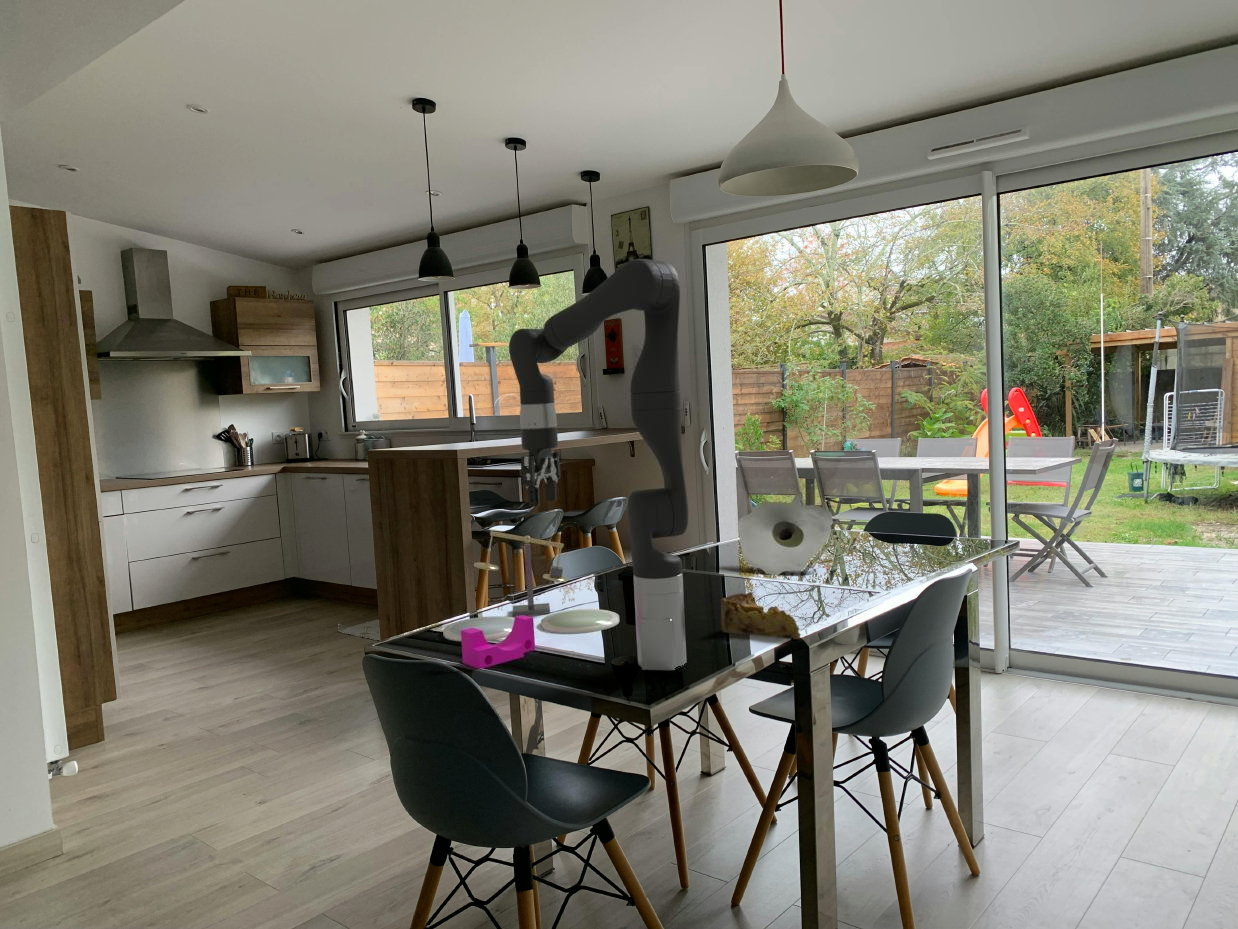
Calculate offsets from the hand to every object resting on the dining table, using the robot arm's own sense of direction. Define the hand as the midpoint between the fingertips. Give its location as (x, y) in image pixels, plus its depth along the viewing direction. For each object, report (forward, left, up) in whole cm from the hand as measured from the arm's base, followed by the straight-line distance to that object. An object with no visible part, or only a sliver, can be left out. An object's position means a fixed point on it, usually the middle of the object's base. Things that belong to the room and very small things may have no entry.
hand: (543, 503), depth 183 cm
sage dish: (+17, -2, -30) cm, 35 cm away
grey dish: (+10, +19, -30) cm, 37 cm away
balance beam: (+28, +14, -12) cm, 33 cm away
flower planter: (+83, -59, -25) cm, 104 cm away
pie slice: (+9, -44, -31) cm, 55 cm away
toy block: (-11, +7, -31) cm, 33 cm away
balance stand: (+28, +14, -30) cm, 43 cm away
